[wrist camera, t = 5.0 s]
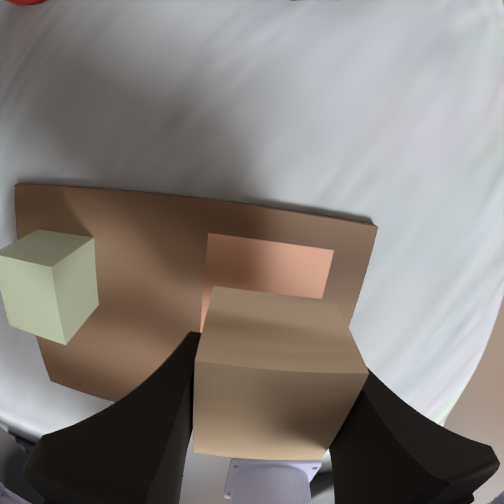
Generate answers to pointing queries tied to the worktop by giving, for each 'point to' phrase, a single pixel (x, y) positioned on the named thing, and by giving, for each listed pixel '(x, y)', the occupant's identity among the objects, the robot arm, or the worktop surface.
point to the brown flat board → (181, 270)
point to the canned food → (26, 2)
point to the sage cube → (49, 283)
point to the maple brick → (273, 376)
